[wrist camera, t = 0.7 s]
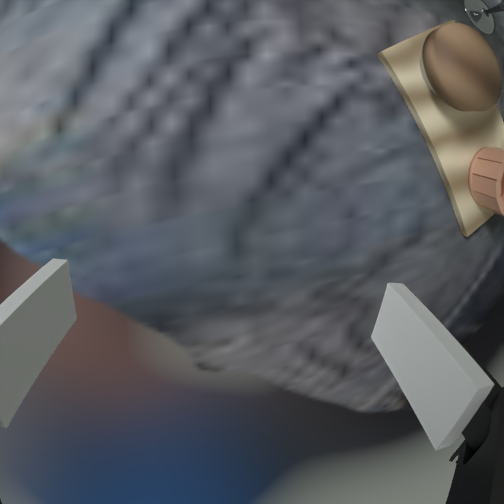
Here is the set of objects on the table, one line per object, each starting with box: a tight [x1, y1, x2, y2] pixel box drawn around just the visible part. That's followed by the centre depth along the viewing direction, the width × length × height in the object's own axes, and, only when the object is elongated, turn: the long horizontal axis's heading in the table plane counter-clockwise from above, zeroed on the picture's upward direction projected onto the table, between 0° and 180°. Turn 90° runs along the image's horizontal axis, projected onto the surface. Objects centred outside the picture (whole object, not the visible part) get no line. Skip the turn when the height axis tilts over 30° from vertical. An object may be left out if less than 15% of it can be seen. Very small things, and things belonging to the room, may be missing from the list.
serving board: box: [377, 19, 504, 237], centre depth 33 cm, size 28×15×2 cm, turn 35°
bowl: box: [468, 147, 504, 217], centre depth 32 cm, size 9×9×6 cm
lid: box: [422, 23, 502, 111], centre depth 26 cm, size 11×11×3 cm
